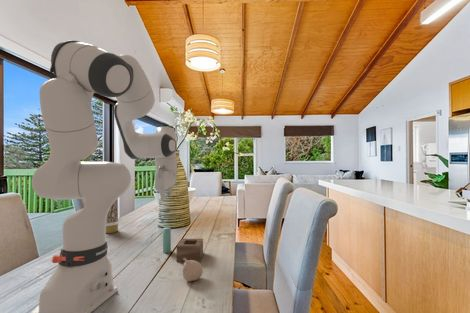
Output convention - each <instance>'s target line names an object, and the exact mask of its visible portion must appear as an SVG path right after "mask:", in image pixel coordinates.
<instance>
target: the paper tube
mask: <svg viewBox="0 0 470 313" xmlns="http://www.w3.org/2000/svg"><path fill="white" fill-rule="evenodd" d="M118 199H119V198H118ZM118 199H117V200H116V201H115V202H114V203H113V205H112V206H111V208H110V210H109V212H108V215H107V220H106V234H114V233H117V232H118V231H119V200H118Z"/></svg>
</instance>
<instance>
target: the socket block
mask: <svg viewBox="0 0 470 313" xmlns="http://www.w3.org/2000/svg"><path fill="white" fill-rule="evenodd" d="M203 254H204V238H180V240H179V242H178V243H177V245H176V262H177V263H185V260H183V258H186V259H187V260H194V261H197V262H199V263H200V262H201V261H202V257H203Z"/></svg>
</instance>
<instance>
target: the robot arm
mask: <svg viewBox="0 0 470 313" xmlns="http://www.w3.org/2000/svg"><path fill="white" fill-rule="evenodd" d="M49 73H50V75H51V77H52V78H51V79H48V80H46V81H45V82H44V83H42V84H41V85H40V87H39V88H40V89H39V104H40V111H41V116H42V122H43V125H44V128H45V132H46V135H47V139H48V140H47V141H48V143H49V148H50V149H49V150H50V153H49V157H48V159H47V160H46V162H44V163H43V164H41V165H40V166H38V167H37V168H36V170H35V171H34V173H33V175H32V178H31V187H32V190H33V191H34V193H35V194H36V195H37V196H38V197H39V198H43V199H49V200H56V201H57V200H58V201H59V200H60V201H62V200H64V201H65V200H81V199H82V200H85V202H84V205H83V208H80V209H78V210H76V211H74V212H73V213H71V214H69V215H68V216H67V217H66V218H65V219H64V221H63V224H62V248H61V249H60V252H59V254H58V255H57V254H55V255H53V256H52V258H51V263H52V264H58V265H57V266H56V268H55V270H54V272H52V274H51V276H50V278H49V279H48V280H47V282H46V283H45V285H44V287H43V288H42V289H41V291H40V294H39V300H38V305H37V306H36V307H35V308H34V309H33V310H32V311H31V312H30V313H92V312H94V311H95V310H96V309H97V308H99V307H100V306H101V305H102V304H103V303H105V302H106V301H107V300H108V299H110V298H111V297H112V296H113V295H115V294H116V293H117V292H118V286H116V285H114V276H113V266H112V262H111V261H110V259H109V258H108V256H107V254H108V249H109V248H108V247H109V246H108V241H107V240H106V236H107V233H106V220H107V215H108V212H109V210H110V208H111V206H112V205H113V203H114V202H115V201H116V200H117V199H119V198H121V196H123V195H124V194H125V193H126V192H127V191H128V189H129V188H130V185H131V183H132V177H131V172H130V170H129V168H127V166H126V165H125V164H123V163H119V162H113V161H82V160H84V159H86V158H89V156H91V155H92V154H93V153H94V152H95V151H96V150H97V148H98V145H99V138H98V132H97V128H96V122H95V117H94V116H95V115H94V112H93V109H92V100H93V96H94V94H97V95H99V96H102V97H106V98H116V101H117V102H116V103H115V105H114V107H113V114H114V118H115V119H114V120H115V123H116V125H117V128H118V131H119V134H120V137H121V140H122V143H123V150H124V153H125V155H127V157H129V158H130V159H132V160H139V159H155V160H154V161H155V162H154V163H155V167H154V168H155V170H156V171H155V177H154V178H155V183H154V184H155V185H154V187H155V190H156V191H159V195H160V201H165V200H167V197H172V195H173V194H172V192H173V186H176V183H177V177H178V176H177V175H178V174H177V172H178V168H179V164H178V158H177V148H178V147H177V146H178V145H177V144H178V143H177V134H176V130H175V128H173V127H170V126H165V125H164V126H163V125H161V126H158V127H157V128H156V132H154V133H140V132H137V131H136V130H135V127H134V123H133V121H134V120H137V119H141V118H143V117H145V116H146V115H147V114H149V113H150V112H151V111H152V109H153V108H154V105H155V94H154V91H153V88H152V85H151V83H150V81H149V78H148V76H147V75H146V73H145V70H144V68H142V65H141V64H140V63H139V61H138V60H137V59H136V57H134V56H132V55H129V54H118V55H117V54H115V53H112V52H108V51H107V50H104V49H102V48H100V47H98V46H96V45H93V44H90V43H85V42H82V41H78V40H73V39H72V40H64V41H60V42H58V43H57V44H56V45H55V46H54V48H53V50H52V52H51V57H50V67H49ZM166 190H167V191H166Z"/></svg>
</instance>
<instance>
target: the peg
mask: <svg viewBox="0 0 470 313" xmlns="http://www.w3.org/2000/svg"><path fill="white" fill-rule="evenodd" d="M171 230H172V228H171V227H170V226H168V227H163V228H162V253H163V254H169V253H172V249H171V248H172V236H171V235H172V234H171V233H172V231H171Z"/></svg>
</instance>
